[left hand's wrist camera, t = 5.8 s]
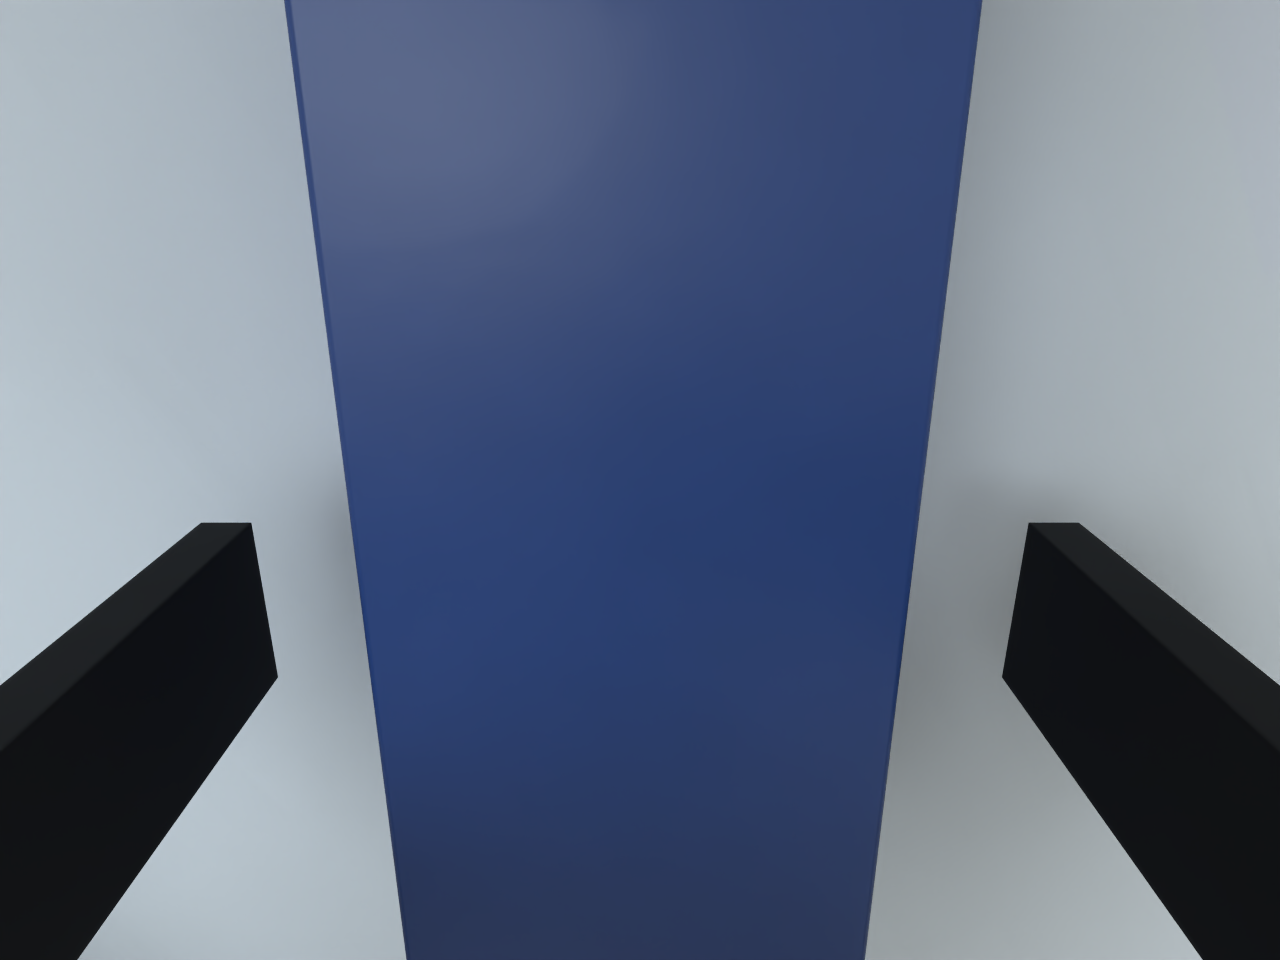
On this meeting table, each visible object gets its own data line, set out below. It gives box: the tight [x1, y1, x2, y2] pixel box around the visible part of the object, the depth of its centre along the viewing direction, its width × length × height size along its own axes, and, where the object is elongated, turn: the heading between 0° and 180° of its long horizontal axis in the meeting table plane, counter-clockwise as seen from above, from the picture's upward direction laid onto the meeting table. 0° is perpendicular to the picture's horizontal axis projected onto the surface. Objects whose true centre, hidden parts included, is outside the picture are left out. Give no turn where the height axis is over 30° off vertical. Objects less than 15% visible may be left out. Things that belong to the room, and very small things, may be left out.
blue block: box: [284, 0, 982, 960], centre depth 12 cm, size 17×5×8 cm, turn 0°
